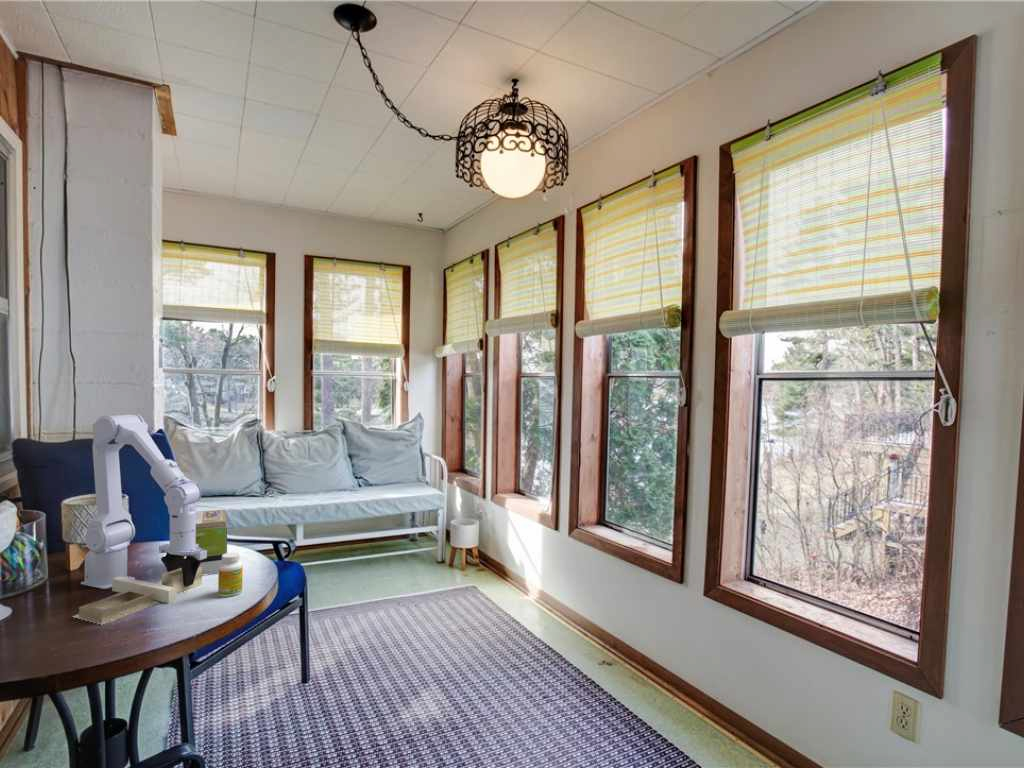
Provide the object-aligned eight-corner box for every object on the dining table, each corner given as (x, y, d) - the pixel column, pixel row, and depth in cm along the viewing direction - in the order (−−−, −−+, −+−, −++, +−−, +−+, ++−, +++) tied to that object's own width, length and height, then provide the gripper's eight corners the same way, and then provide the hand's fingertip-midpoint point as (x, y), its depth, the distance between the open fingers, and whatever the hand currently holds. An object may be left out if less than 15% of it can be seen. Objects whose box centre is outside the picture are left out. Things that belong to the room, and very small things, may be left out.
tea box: (188, 561, 165) (188, 511, 165) (226, 557, 170) (227, 508, 169) (185, 578, 152) (185, 523, 151) (226, 572, 156) (227, 519, 156)
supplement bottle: (232, 598, 138) (232, 558, 138) (213, 596, 139) (213, 557, 139) (246, 590, 144) (247, 552, 143) (228, 588, 145) (228, 550, 145)
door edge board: (112, 590, 142) (112, 578, 142) (120, 588, 144) (120, 576, 144) (168, 603, 135) (168, 590, 135) (176, 600, 136) (176, 588, 136)
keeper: (72, 617, 126) (72, 607, 126) (129, 597, 138) (130, 587, 138) (102, 625, 122) (102, 614, 122) (158, 603, 134) (158, 593, 134)
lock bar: (161, 594, 140) (161, 574, 140) (190, 583, 148) (190, 564, 148) (173, 596, 139) (173, 576, 139) (201, 585, 146) (201, 566, 146)
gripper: (217, 529, 144) (216, 582, 144) (176, 523, 150) (176, 575, 150) (192, 536, 138) (192, 592, 138) (151, 530, 143) (150, 583, 143)
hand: (182, 584), depth 143 cm, fingers closed on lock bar, 4 cm apart
